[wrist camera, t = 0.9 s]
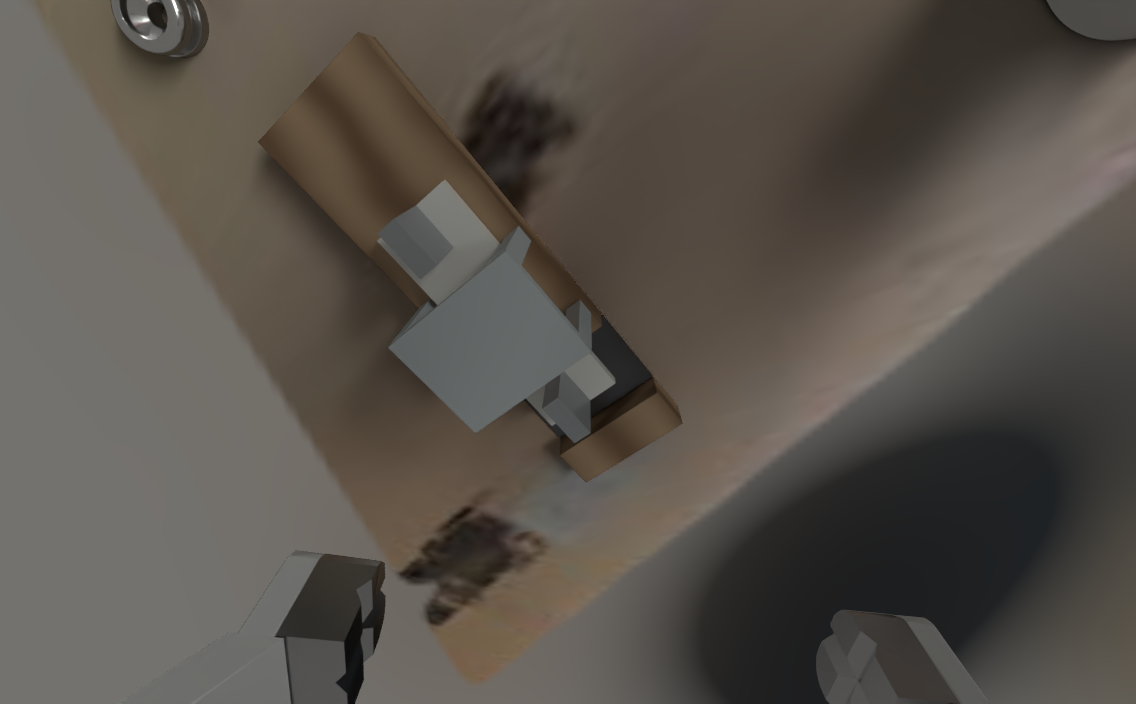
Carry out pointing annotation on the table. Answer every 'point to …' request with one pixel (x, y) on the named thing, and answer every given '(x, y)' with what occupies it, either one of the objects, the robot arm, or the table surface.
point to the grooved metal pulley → (163, 25)
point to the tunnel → (493, 338)
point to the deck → (433, 154)
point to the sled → (455, 254)
